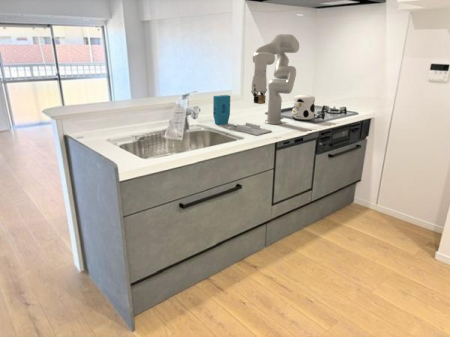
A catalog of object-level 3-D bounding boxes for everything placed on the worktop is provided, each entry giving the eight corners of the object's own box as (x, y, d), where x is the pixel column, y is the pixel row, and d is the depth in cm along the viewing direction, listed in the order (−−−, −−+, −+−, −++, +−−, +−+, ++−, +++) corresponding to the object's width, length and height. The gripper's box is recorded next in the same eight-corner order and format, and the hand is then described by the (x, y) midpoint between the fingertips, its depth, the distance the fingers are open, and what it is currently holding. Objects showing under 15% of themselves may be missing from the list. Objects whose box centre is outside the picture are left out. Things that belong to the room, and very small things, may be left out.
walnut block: (259, 102, 220) (259, 94, 218) (265, 103, 217) (265, 95, 215) (254, 103, 217) (254, 95, 215) (260, 104, 213) (260, 96, 212)
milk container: (287, 119, 263) (289, 96, 257) (297, 116, 275) (300, 94, 269) (306, 122, 252) (309, 98, 246) (317, 119, 265) (320, 96, 259)
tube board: (245, 125, 238) (245, 121, 237) (271, 131, 222) (272, 127, 221) (229, 128, 228) (229, 124, 226) (256, 135, 212) (256, 130, 211)
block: (216, 125, 237) (217, 96, 230) (212, 124, 241) (213, 95, 234) (230, 123, 244) (230, 95, 237) (226, 122, 247) (226, 94, 240)
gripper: (264, 72, 219) (262, 100, 225) (246, 73, 208) (245, 102, 214) (273, 73, 214) (271, 101, 220) (256, 74, 203) (254, 104, 209)
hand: (258, 102), depth 217 cm, fingers closed on walnut block, 4 cm apart
